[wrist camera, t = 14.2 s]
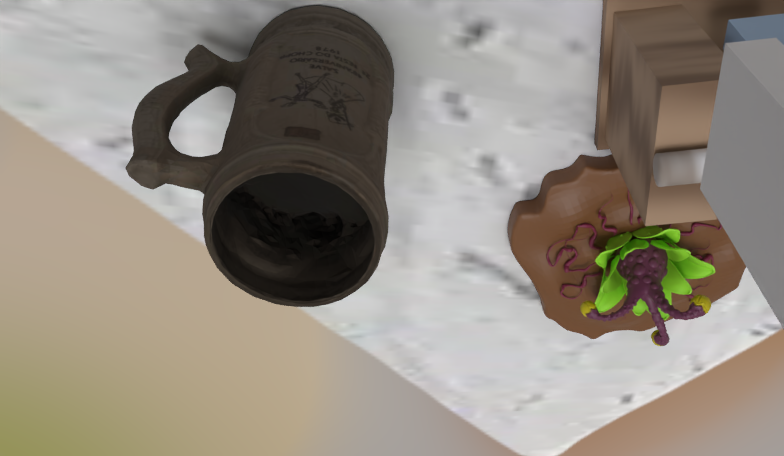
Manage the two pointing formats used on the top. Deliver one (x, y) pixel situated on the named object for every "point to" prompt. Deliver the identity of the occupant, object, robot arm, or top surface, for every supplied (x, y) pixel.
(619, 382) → the top surface
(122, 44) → the top surface
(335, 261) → the beer stein
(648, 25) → the stand
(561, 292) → the plant
